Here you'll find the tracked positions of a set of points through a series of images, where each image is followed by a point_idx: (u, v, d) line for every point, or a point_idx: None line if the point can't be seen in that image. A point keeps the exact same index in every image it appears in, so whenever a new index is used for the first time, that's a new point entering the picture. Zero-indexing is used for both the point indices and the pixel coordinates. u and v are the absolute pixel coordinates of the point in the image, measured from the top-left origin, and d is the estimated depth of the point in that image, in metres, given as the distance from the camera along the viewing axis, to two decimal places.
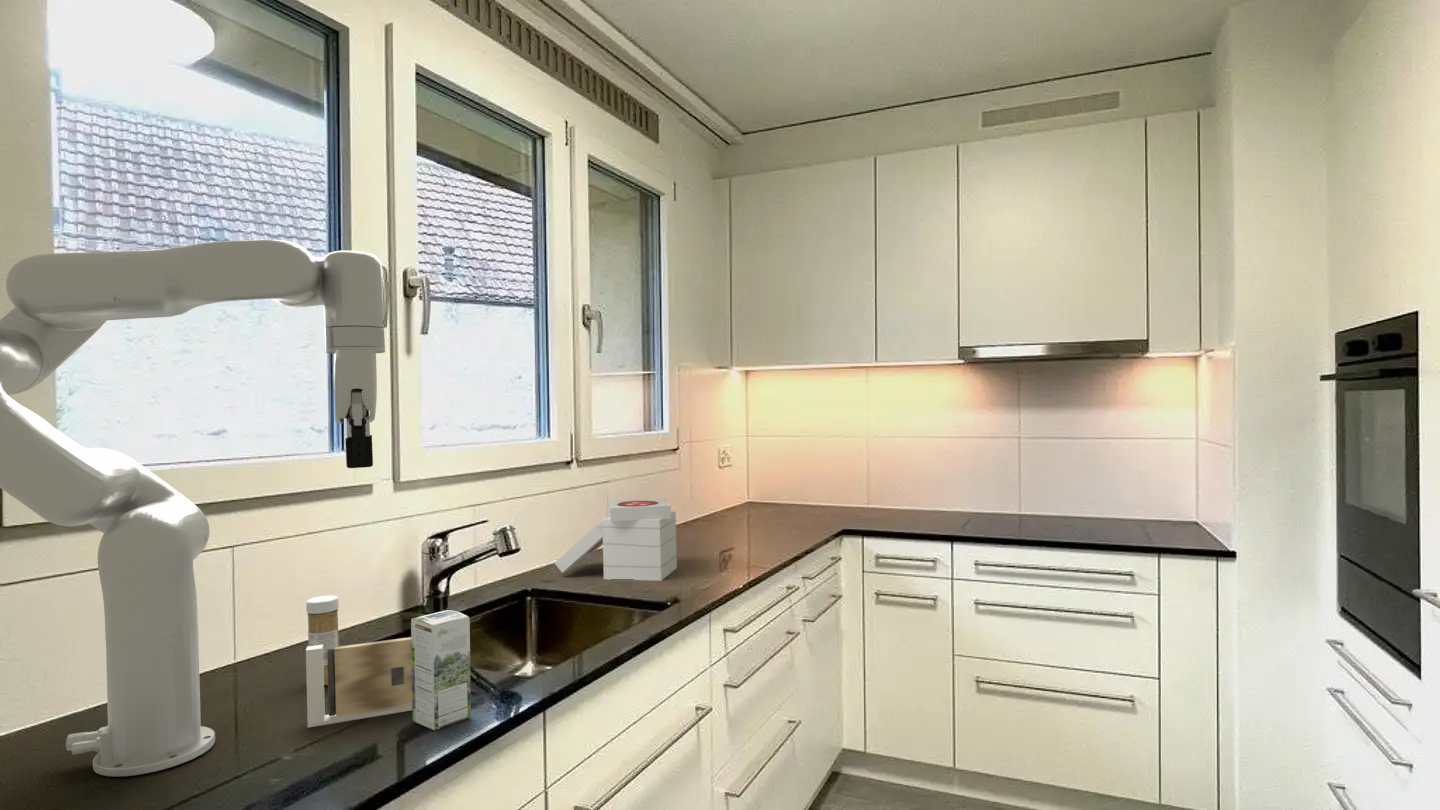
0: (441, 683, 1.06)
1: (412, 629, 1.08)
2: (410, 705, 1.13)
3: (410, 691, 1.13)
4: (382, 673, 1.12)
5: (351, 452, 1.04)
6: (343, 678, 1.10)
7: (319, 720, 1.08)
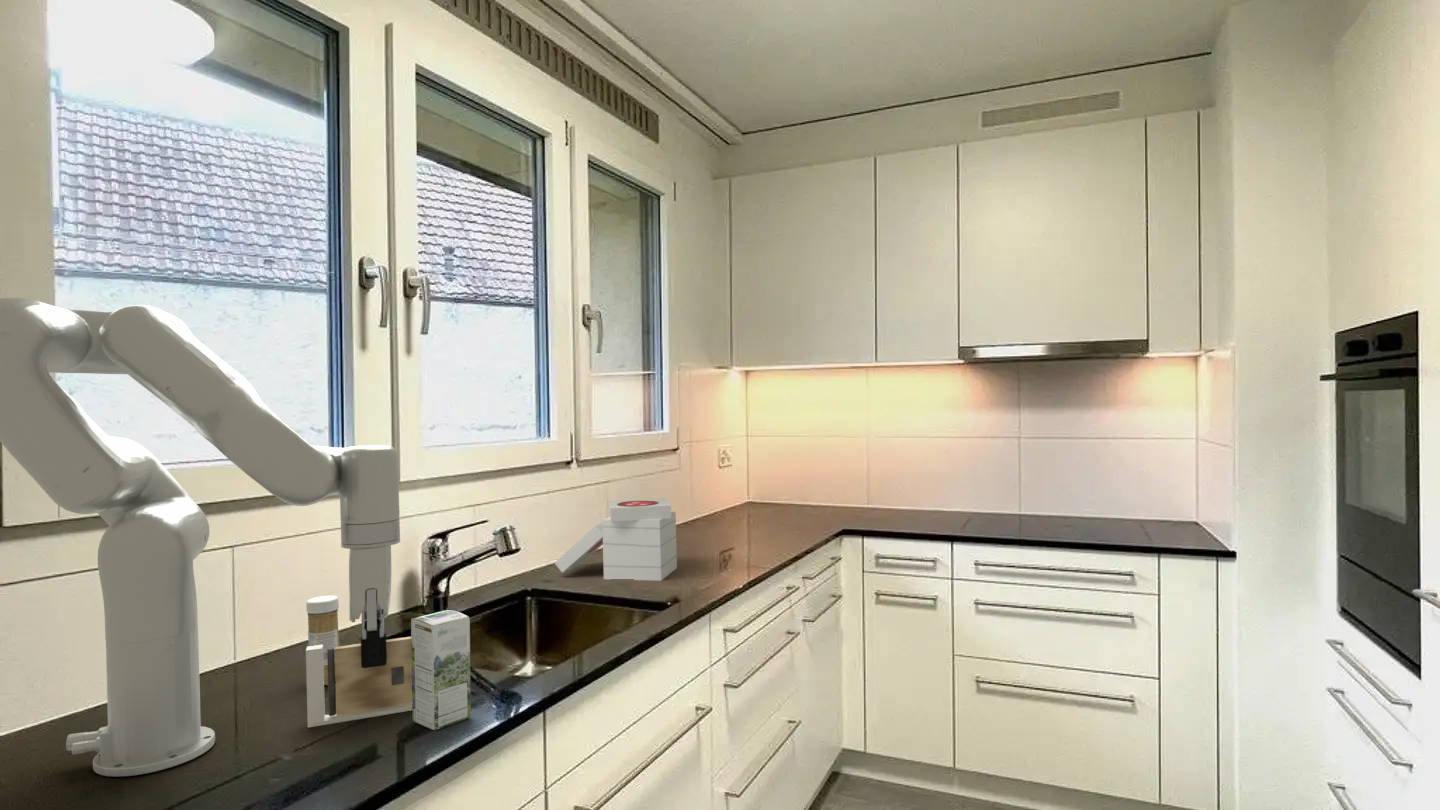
0: (441, 683, 1.06)
1: (412, 629, 1.08)
2: (410, 705, 1.13)
3: (410, 690, 1.13)
4: (382, 672, 1.12)
5: (366, 652, 1.08)
6: (343, 678, 1.10)
7: (319, 720, 1.08)
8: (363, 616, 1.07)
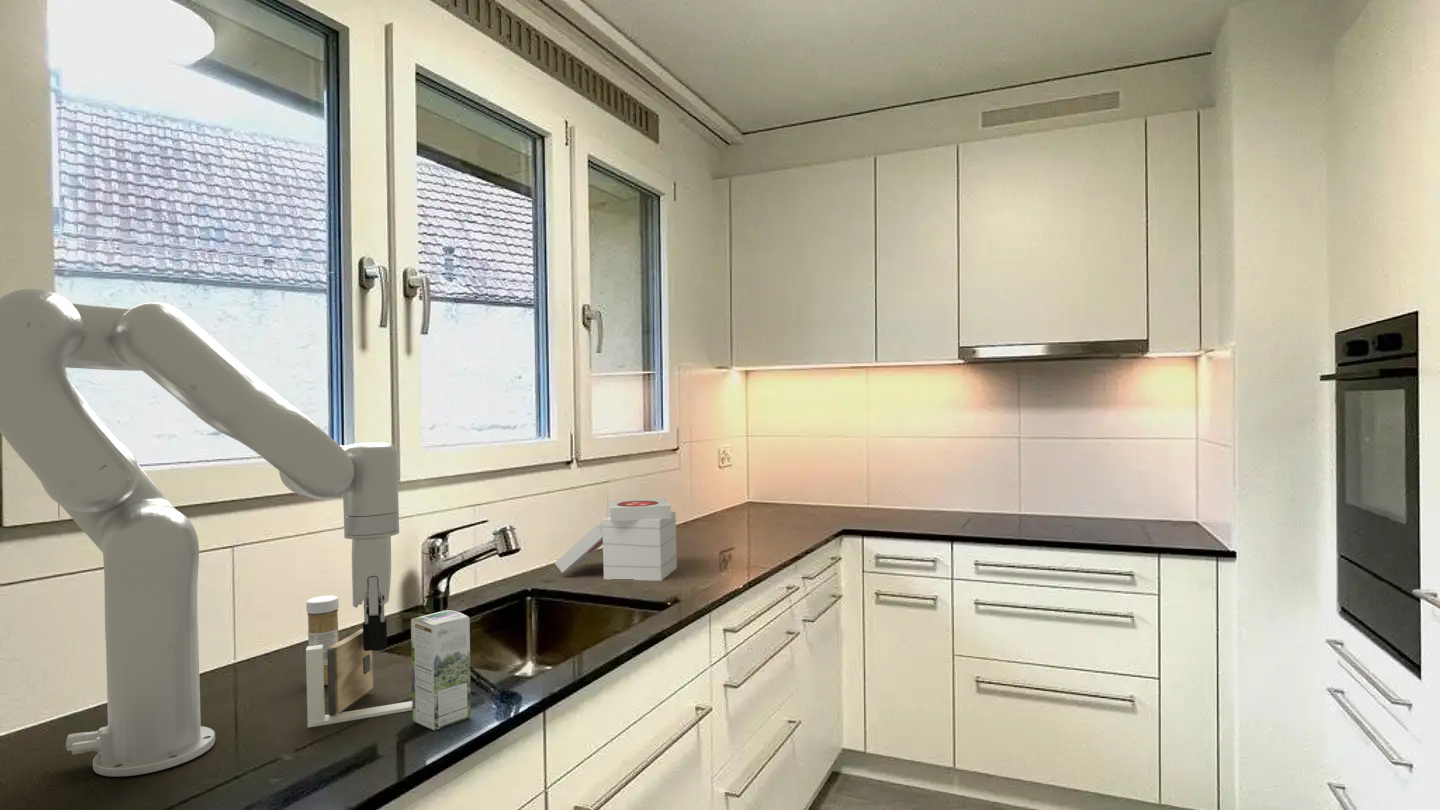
0: (441, 683, 1.06)
1: (412, 629, 1.08)
2: (410, 705, 1.13)
3: (372, 676, 1.20)
4: (359, 664, 1.16)
5: (368, 636, 1.16)
6: (341, 675, 1.11)
7: (319, 720, 1.08)
8: (365, 602, 1.15)
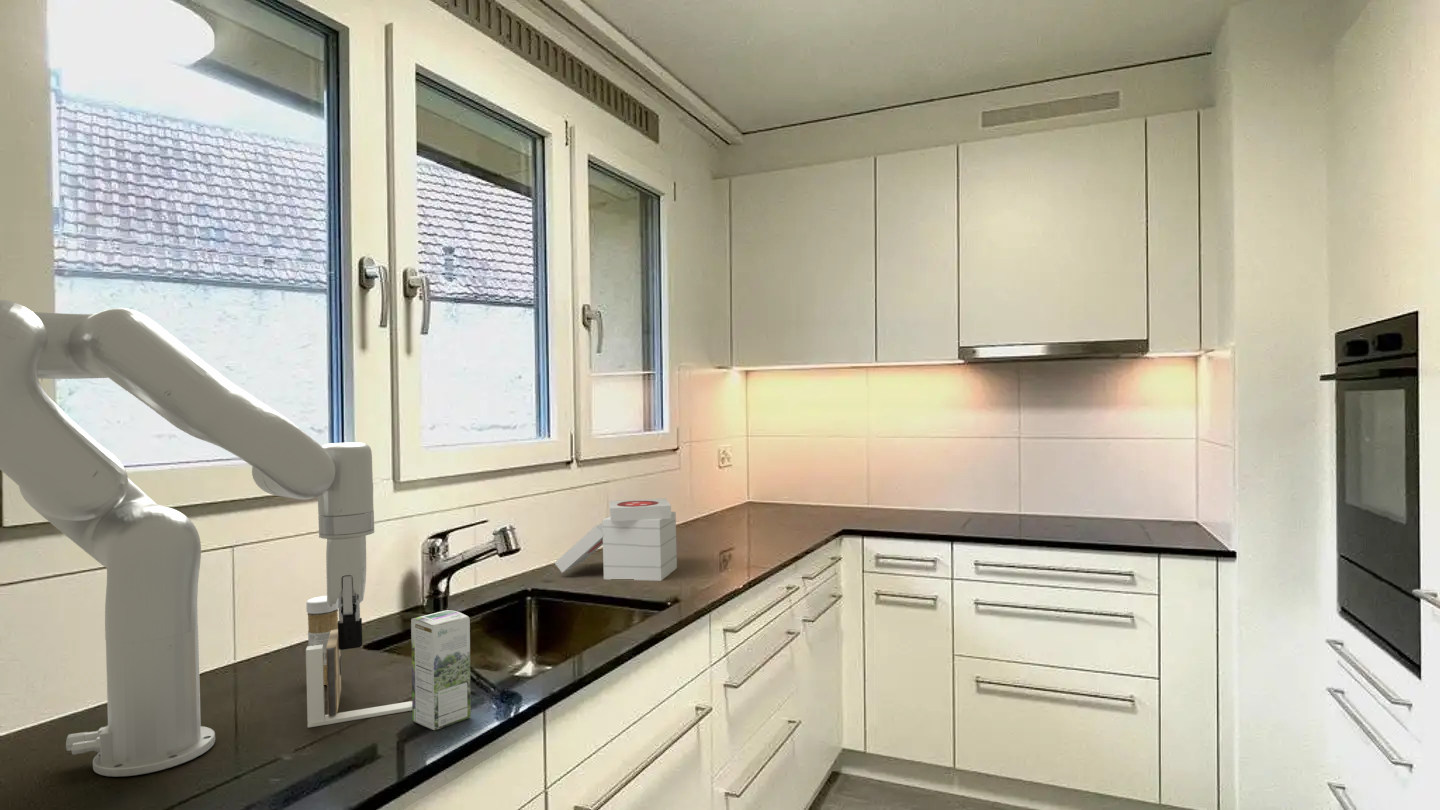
0: (441, 683, 1.06)
1: (412, 629, 1.08)
2: (410, 705, 1.13)
3: (340, 678, 1.19)
4: None
5: (343, 635, 1.17)
6: None
7: (319, 720, 1.08)
8: (340, 601, 1.15)
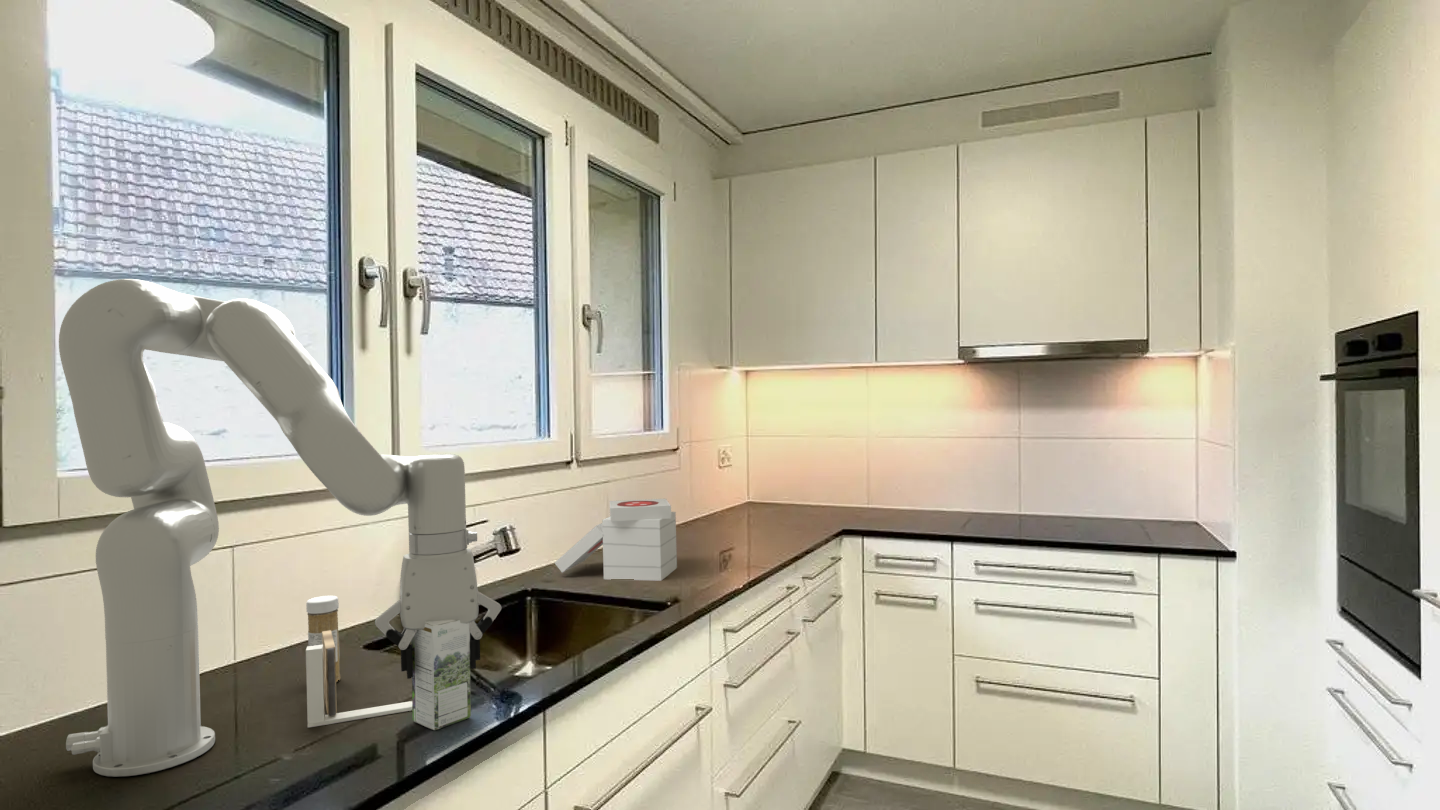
0: (441, 683, 1.06)
1: None
2: (410, 705, 1.13)
3: None
4: None
5: None
6: None
7: (319, 720, 1.08)
8: None
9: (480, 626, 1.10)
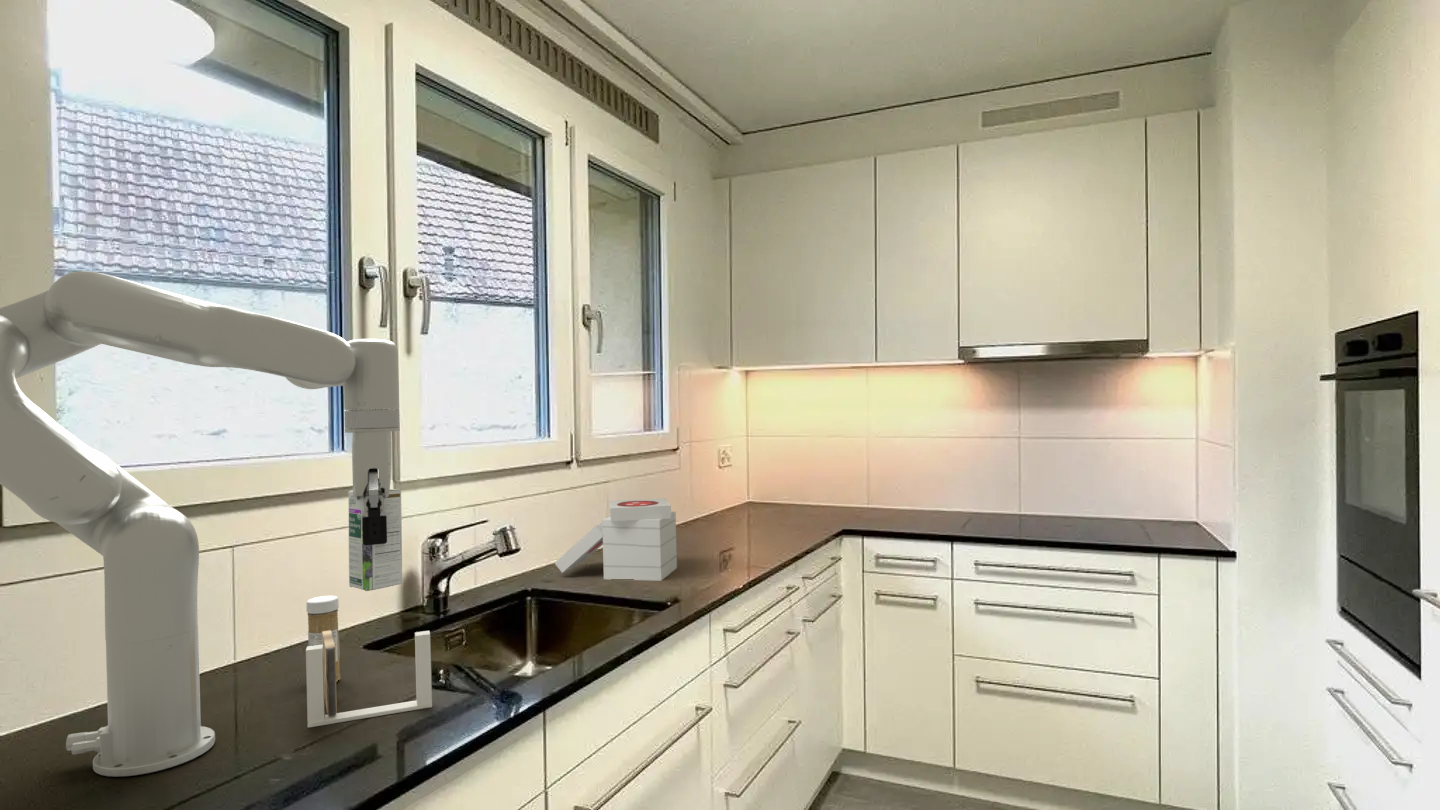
0: None
1: None
2: (410, 705, 1.13)
3: None
4: None
5: (367, 530, 1.13)
6: None
7: (319, 720, 1.08)
8: None
9: None
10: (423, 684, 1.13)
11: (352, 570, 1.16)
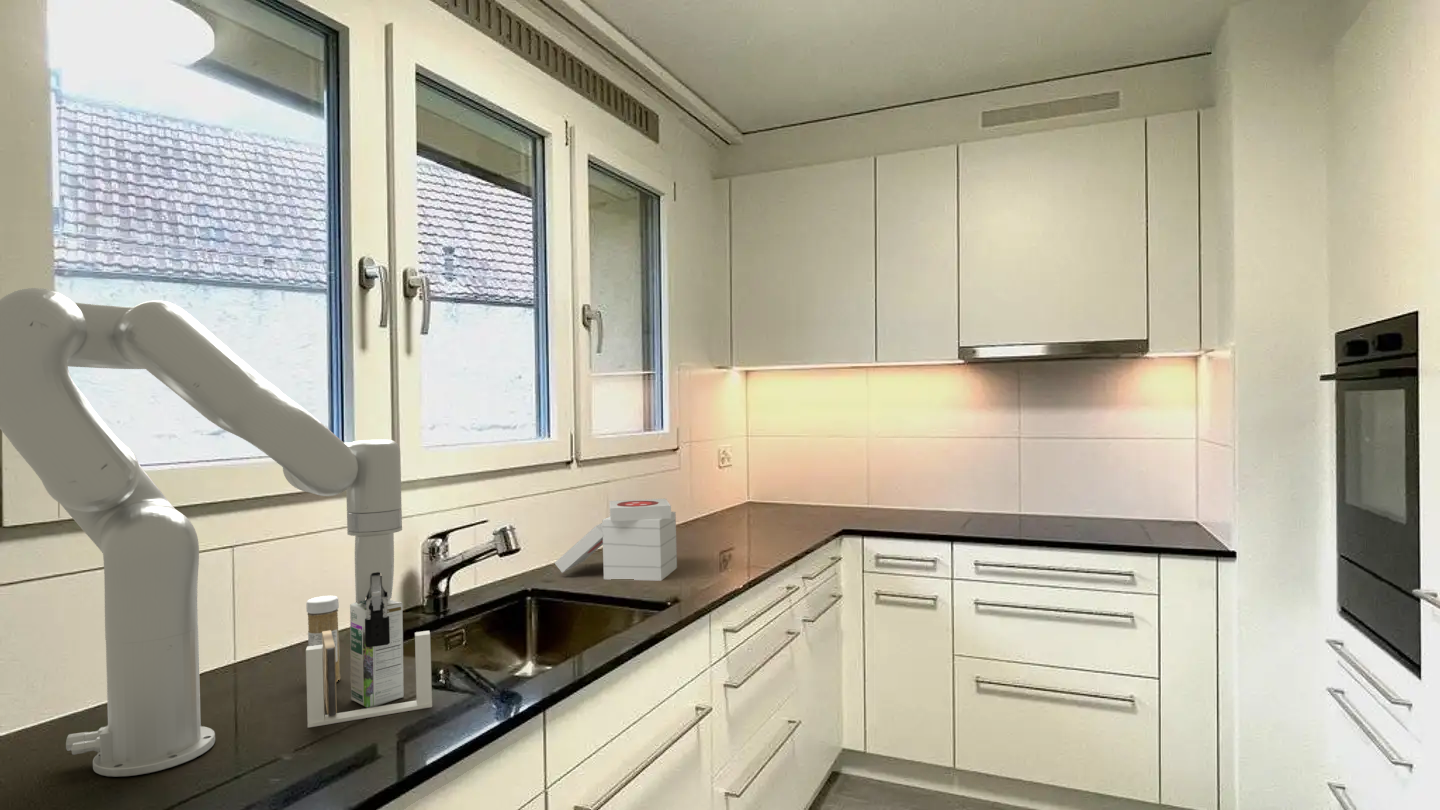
0: None
1: None
2: (410, 705, 1.13)
3: None
4: None
5: (370, 632, 1.12)
6: None
7: (319, 720, 1.08)
8: None
9: None
10: (423, 684, 1.13)
11: (354, 684, 1.16)
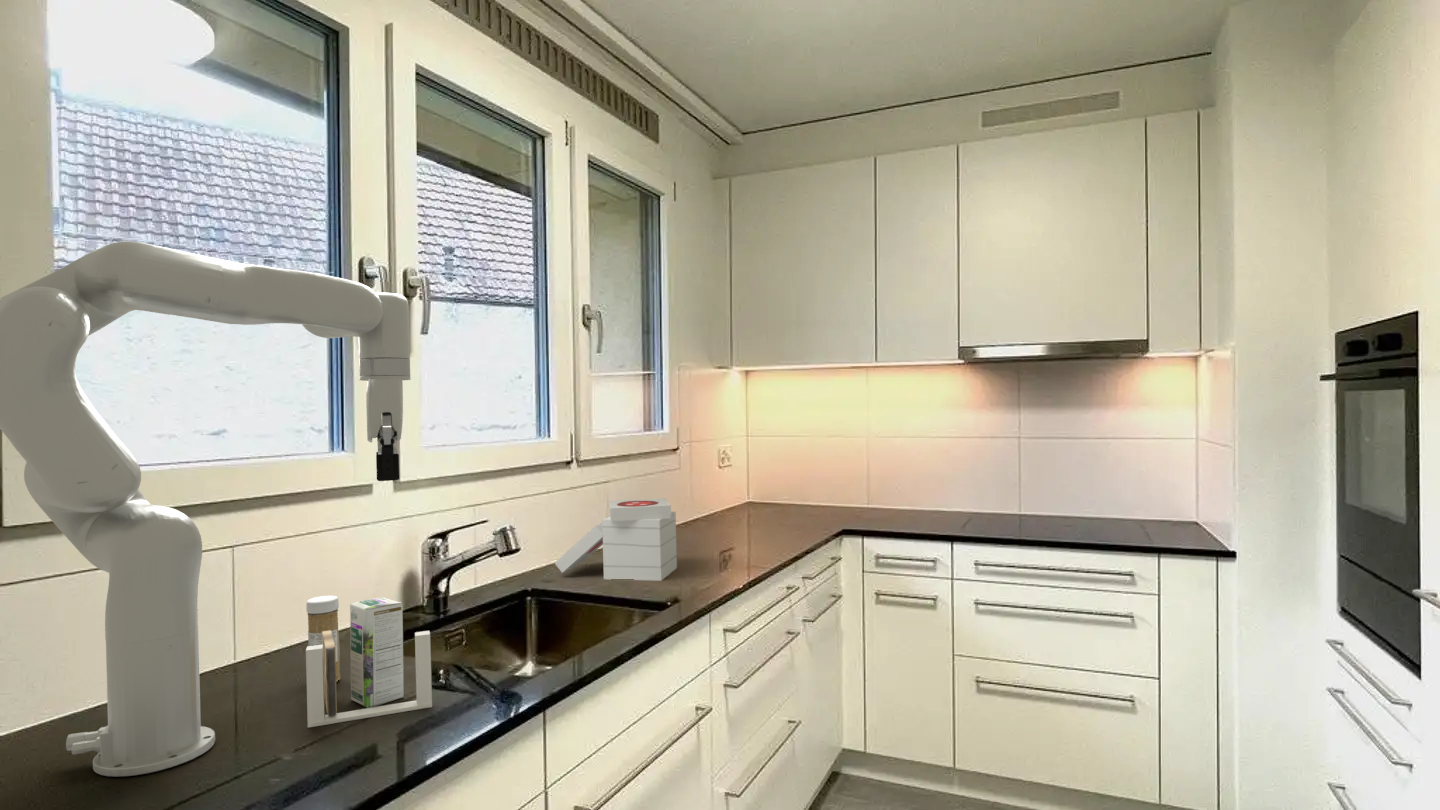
0: None
1: (369, 619, 1.14)
2: (410, 705, 1.13)
3: None
4: None
5: (381, 467, 1.20)
6: None
7: (319, 720, 1.08)
8: None
9: None
10: (423, 684, 1.13)
11: (354, 684, 1.16)
